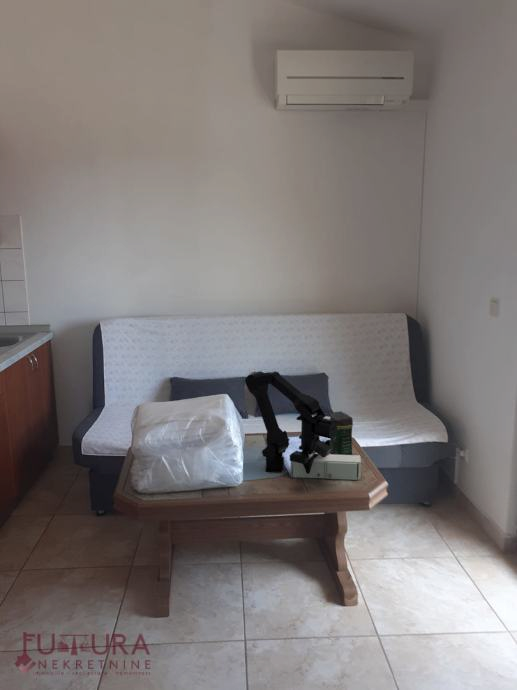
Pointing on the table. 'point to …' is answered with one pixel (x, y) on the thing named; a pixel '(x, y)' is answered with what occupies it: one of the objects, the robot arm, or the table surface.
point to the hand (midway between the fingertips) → (308, 473)
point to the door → (300, 471)
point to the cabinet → (341, 466)
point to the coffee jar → (342, 434)
